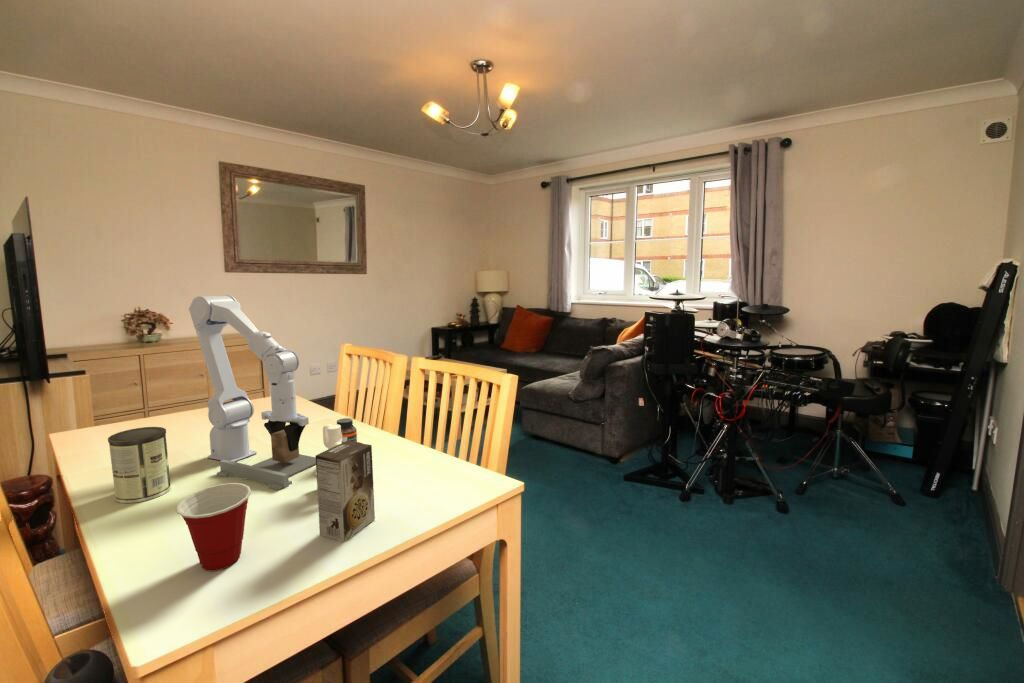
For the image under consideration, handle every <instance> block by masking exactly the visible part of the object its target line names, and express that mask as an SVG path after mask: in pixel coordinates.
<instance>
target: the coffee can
mask: <svg viewBox="0 0 1024 683" xmlns="http://www.w3.org/2000/svg"><path fill="white" fill-rule="evenodd" d="M107 442H108V444H109V452H110V453H109V454H110V463H111V470H112V478H113V488H114V496H115V498H114V500H115V502H117V503H120V504H133V503H134V504H135V503H142V502H146V501H149V500H154V499H156V498H158V497H161V496H163V495H166V494H167V493H168V492H170V490H171V489H172V484H171V483H172V482H171V474H170V465H169V457H168V455H169V454H168V444H167V429H166V428H165V427H162V426H161V427H160V426H146V427H145V426H144V427H137V428H131V429H127V430H123V431H119V432H116V433H114V434H112V435H110V436H108V438H107Z"/></svg>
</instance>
